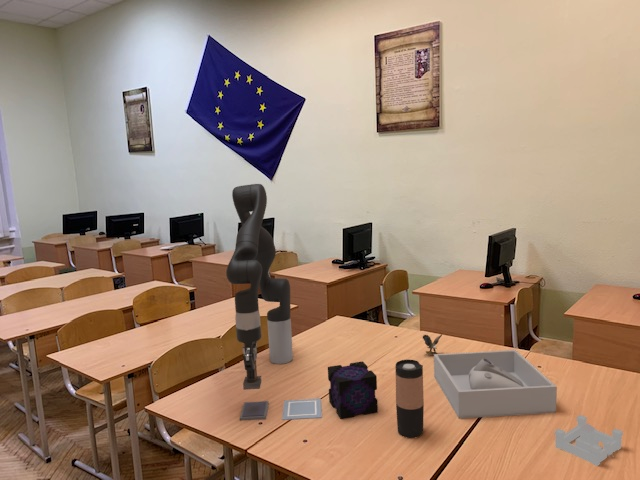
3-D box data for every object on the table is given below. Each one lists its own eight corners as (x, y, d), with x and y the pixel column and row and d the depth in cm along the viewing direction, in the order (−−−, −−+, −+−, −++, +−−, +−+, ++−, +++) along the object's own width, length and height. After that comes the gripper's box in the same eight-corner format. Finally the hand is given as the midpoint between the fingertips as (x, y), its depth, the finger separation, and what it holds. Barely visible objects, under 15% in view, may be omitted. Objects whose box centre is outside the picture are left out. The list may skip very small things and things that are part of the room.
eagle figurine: (430, 359, 189) (429, 336, 187) (418, 353, 195) (418, 331, 194) (445, 355, 192) (445, 333, 190) (434, 349, 198) (434, 328, 197)
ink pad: (244, 405, 159) (243, 401, 159) (268, 403, 159) (268, 400, 159) (239, 421, 149) (239, 417, 149) (266, 419, 149) (265, 416, 149)
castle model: (577, 429, 137) (578, 404, 135) (636, 454, 124) (637, 426, 123) (547, 449, 128) (547, 423, 127) (607, 477, 116) (608, 448, 115)
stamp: (245, 382, 155) (243, 358, 154) (261, 381, 155) (259, 357, 154) (243, 389, 150) (241, 364, 149) (259, 388, 150) (258, 364, 149)
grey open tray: (434, 376, 173) (433, 354, 172) (515, 372, 174) (515, 349, 172) (458, 418, 145) (458, 392, 143) (556, 413, 145) (556, 386, 144)
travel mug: (393, 435, 137) (391, 367, 134) (401, 422, 144) (400, 357, 141) (419, 441, 134) (418, 372, 131) (427, 427, 140) (426, 361, 137)
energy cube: (340, 419, 147) (338, 382, 145) (329, 401, 159) (327, 366, 157) (377, 412, 150) (376, 375, 149) (363, 395, 162) (362, 361, 160)
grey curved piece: (500, 408, 148) (500, 375, 146) (455, 389, 161) (455, 358, 160) (531, 392, 157) (532, 360, 155) (486, 375, 171) (487, 346, 169)
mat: (284, 401, 160) (284, 400, 160) (320, 399, 160) (320, 398, 160) (282, 420, 148) (282, 418, 148) (321, 418, 148) (321, 416, 148)
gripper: (239, 318, 157) (243, 369, 159) (232, 332, 143) (236, 388, 145) (262, 316, 157) (266, 368, 159) (258, 331, 143) (261, 387, 145)
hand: (252, 377), depth 152 cm, fingers closed on stamp, 3 cm apart
